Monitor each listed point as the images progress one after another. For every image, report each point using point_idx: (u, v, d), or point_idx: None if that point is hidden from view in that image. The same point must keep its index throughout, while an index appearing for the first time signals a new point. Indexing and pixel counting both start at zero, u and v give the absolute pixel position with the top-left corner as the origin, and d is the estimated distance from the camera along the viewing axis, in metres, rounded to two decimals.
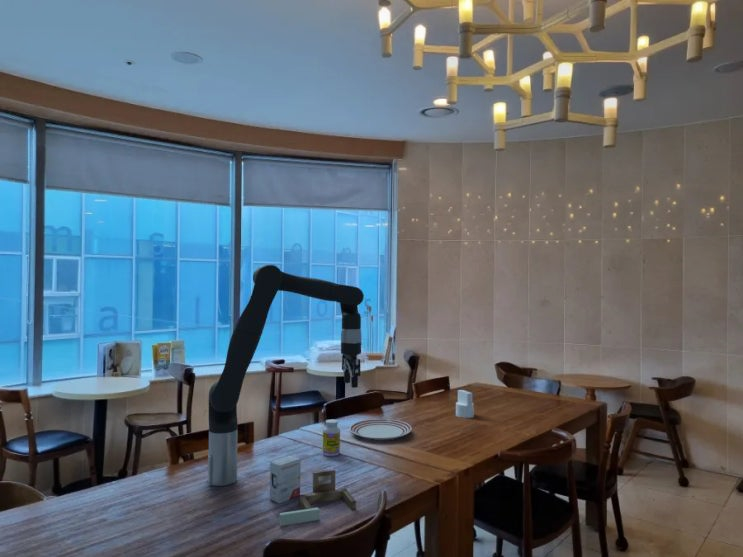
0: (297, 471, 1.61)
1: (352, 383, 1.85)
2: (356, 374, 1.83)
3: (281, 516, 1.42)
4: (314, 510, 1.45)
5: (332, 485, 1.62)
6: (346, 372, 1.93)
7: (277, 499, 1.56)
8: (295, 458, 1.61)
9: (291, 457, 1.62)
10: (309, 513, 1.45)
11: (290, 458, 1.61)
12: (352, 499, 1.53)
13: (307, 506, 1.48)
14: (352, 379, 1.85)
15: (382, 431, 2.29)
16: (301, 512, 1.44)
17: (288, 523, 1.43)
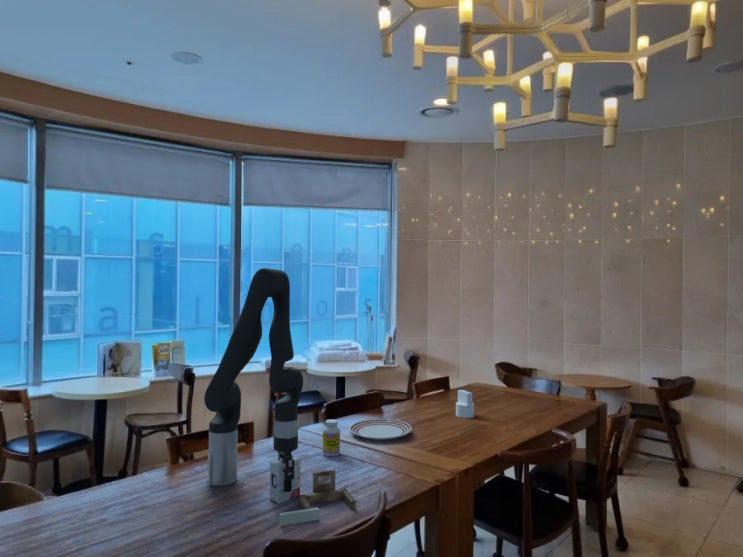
0: (297, 471, 1.61)
1: (285, 487, 1.56)
2: (289, 478, 1.54)
3: (281, 516, 1.42)
4: (314, 510, 1.45)
5: (332, 485, 1.62)
6: None
7: (277, 499, 1.56)
8: (295, 458, 1.61)
9: None
10: (309, 513, 1.45)
11: None
12: (352, 499, 1.53)
13: (307, 506, 1.48)
14: (285, 482, 1.56)
15: (382, 431, 2.29)
16: (301, 512, 1.44)
17: (288, 523, 1.43)
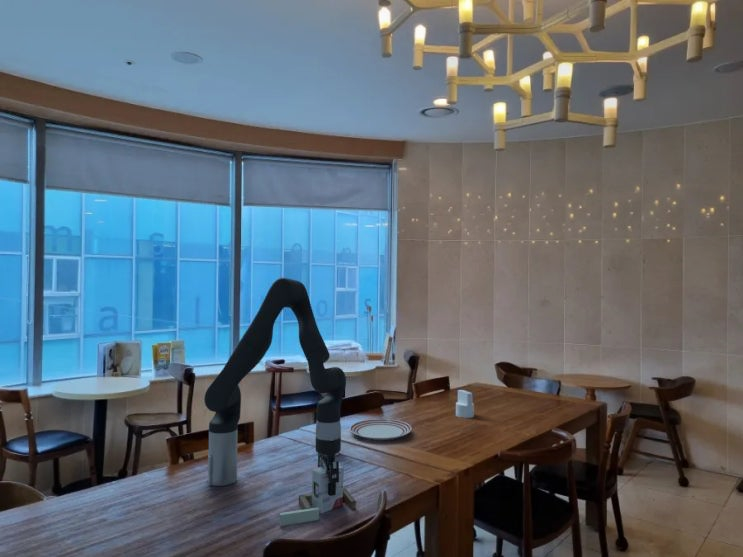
0: (340, 480, 1.54)
1: (329, 490, 1.49)
2: (333, 481, 1.47)
3: (281, 516, 1.42)
4: (314, 510, 1.45)
5: None
6: None
7: (319, 509, 1.50)
8: None
9: None
10: (309, 513, 1.45)
11: None
12: (352, 499, 1.53)
13: (307, 506, 1.48)
14: (329, 485, 1.49)
15: (382, 431, 2.29)
16: (301, 512, 1.44)
17: (288, 523, 1.43)
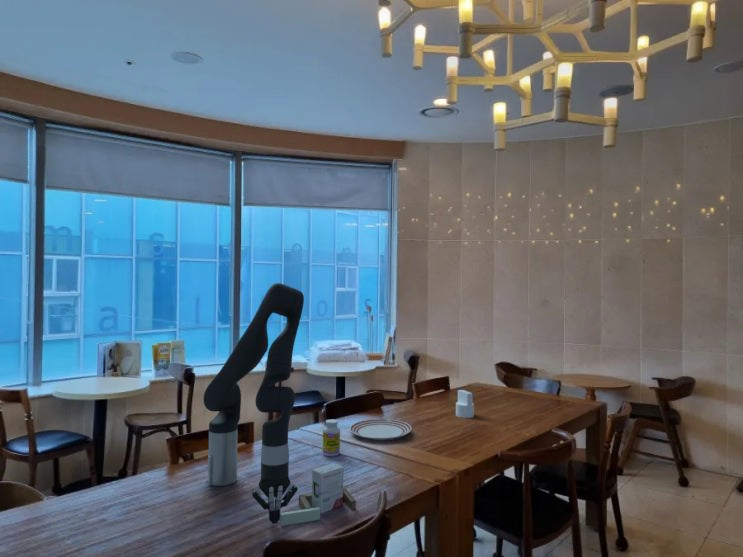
0: (340, 480, 1.54)
1: None
2: None
3: (282, 516, 1.42)
4: (315, 510, 1.45)
5: None
6: (274, 507, 1.42)
7: None
8: (338, 466, 1.55)
9: (333, 465, 1.56)
10: (310, 513, 1.45)
11: (333, 466, 1.55)
12: (352, 499, 1.53)
13: (307, 506, 1.48)
14: None
15: (382, 431, 2.29)
16: (302, 512, 1.44)
17: (289, 523, 1.43)
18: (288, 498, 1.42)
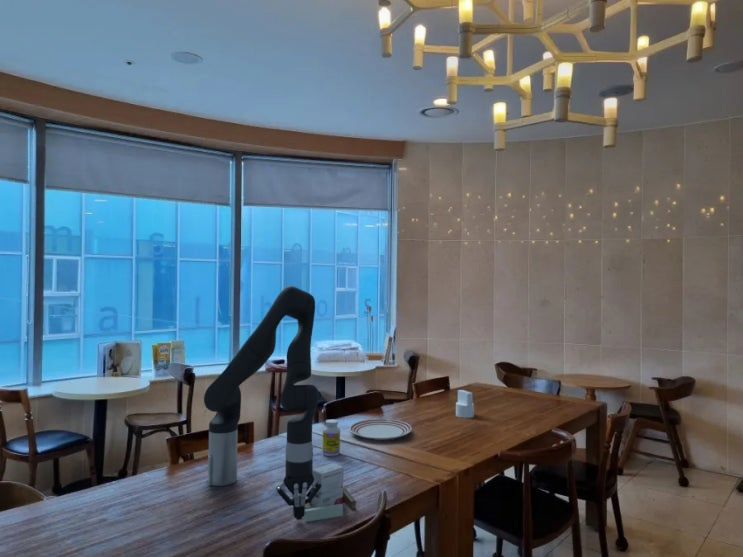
0: (340, 480, 1.54)
1: None
2: None
3: (306, 512, 1.44)
4: (338, 506, 1.48)
5: None
6: (299, 503, 1.44)
7: None
8: (338, 466, 1.55)
9: (333, 465, 1.56)
10: (333, 509, 1.47)
11: (333, 466, 1.55)
12: (352, 499, 1.53)
13: (307, 506, 1.48)
14: None
15: (382, 431, 2.29)
16: (326, 508, 1.47)
17: (313, 519, 1.45)
18: (312, 495, 1.44)
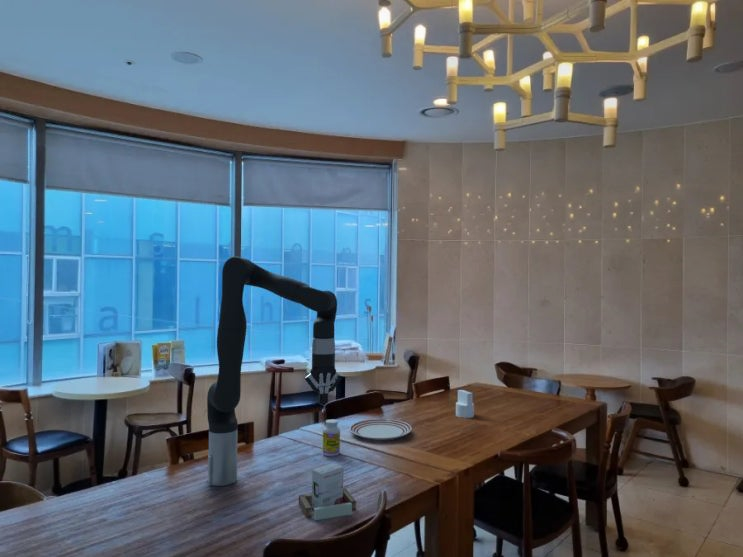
0: (340, 480, 1.54)
1: None
2: None
3: (316, 511, 1.45)
4: (347, 505, 1.49)
5: None
6: (323, 392, 1.69)
7: None
8: (338, 466, 1.55)
9: (333, 465, 1.56)
10: (342, 508, 1.48)
11: (333, 466, 1.55)
12: (352, 499, 1.53)
13: (307, 506, 1.48)
14: None
15: (382, 431, 2.29)
16: (335, 507, 1.47)
17: (322, 517, 1.46)
18: (334, 384, 1.69)
